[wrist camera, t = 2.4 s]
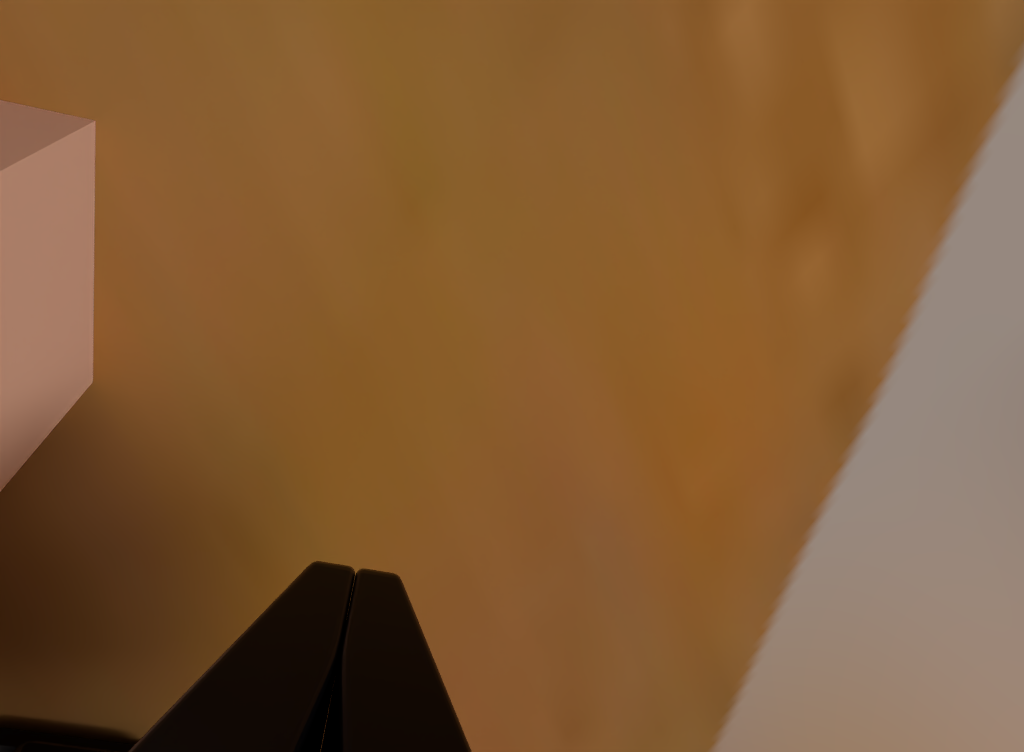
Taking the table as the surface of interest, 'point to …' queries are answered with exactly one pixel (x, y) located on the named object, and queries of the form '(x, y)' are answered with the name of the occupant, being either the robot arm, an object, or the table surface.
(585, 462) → the table surface
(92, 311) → the block
